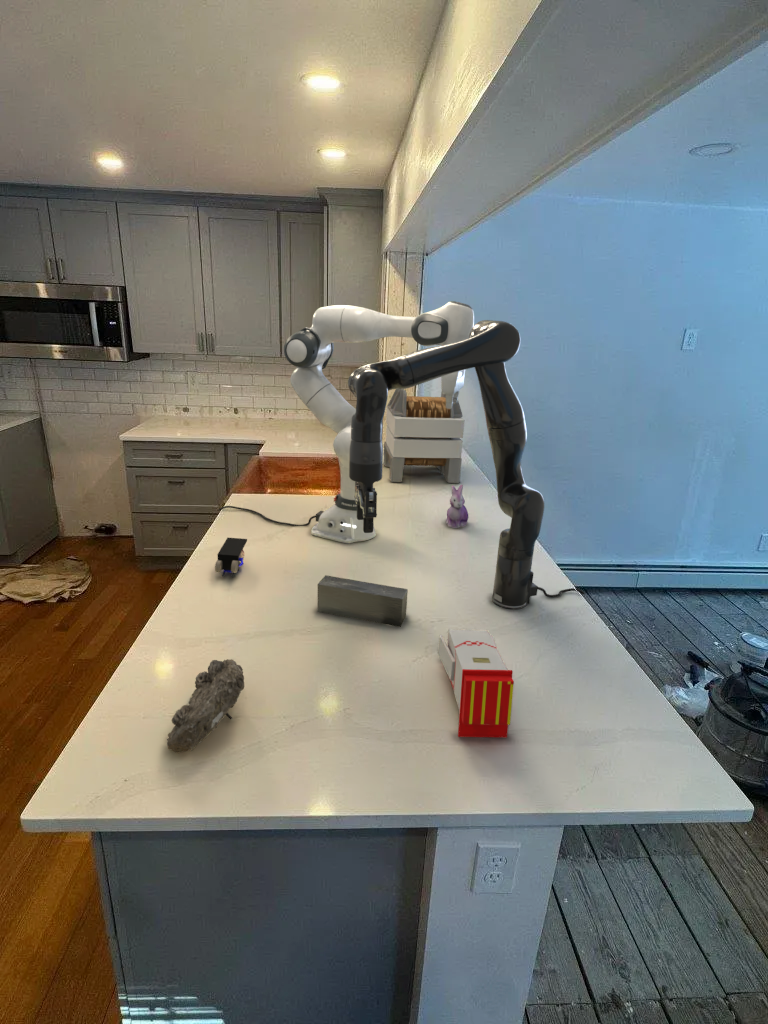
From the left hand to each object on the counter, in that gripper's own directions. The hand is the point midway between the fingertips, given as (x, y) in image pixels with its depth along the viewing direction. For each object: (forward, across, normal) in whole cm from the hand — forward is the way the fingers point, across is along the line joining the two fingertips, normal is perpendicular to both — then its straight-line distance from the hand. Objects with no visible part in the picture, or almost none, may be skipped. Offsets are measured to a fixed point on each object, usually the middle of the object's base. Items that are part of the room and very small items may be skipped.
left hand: (451, 405), depth 174 cm
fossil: (+47, +97, -26) cm, 111 cm away
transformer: (+48, -86, -26) cm, 102 cm away
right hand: (+21, +55, -10) cm, 60 cm away
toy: (+47, +73, +20) cm, 90 cm away
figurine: (+47, -24, +2) cm, 53 cm away
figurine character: (+48, +40, -55) cm, 83 cm away
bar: (+47, +51, -11) cm, 70 cm away
